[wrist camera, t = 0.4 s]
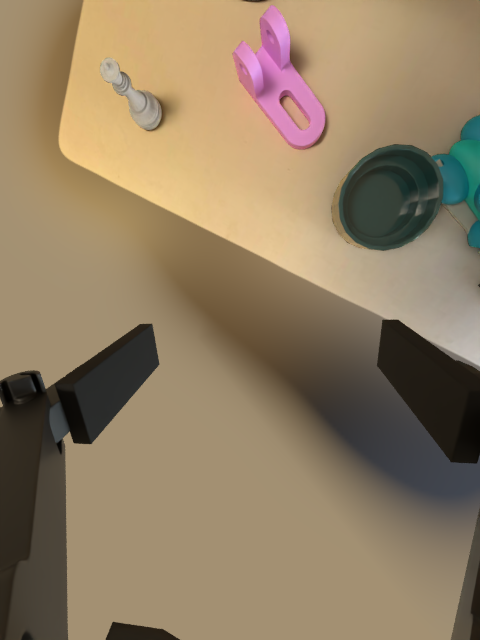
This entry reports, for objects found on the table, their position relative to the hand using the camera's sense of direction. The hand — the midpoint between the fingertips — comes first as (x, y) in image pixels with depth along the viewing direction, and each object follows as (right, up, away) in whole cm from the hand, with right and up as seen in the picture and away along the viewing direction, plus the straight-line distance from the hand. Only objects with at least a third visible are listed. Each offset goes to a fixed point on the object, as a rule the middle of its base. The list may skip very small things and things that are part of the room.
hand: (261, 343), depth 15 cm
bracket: (+5, +31, +21) cm, 38 cm away
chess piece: (-15, +32, +24) cm, 42 cm away
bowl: (+18, +18, +23) cm, 34 cm away
